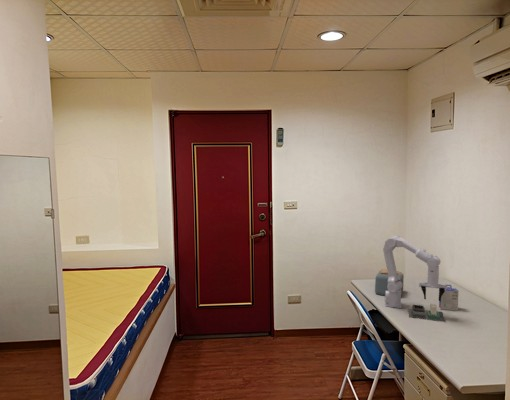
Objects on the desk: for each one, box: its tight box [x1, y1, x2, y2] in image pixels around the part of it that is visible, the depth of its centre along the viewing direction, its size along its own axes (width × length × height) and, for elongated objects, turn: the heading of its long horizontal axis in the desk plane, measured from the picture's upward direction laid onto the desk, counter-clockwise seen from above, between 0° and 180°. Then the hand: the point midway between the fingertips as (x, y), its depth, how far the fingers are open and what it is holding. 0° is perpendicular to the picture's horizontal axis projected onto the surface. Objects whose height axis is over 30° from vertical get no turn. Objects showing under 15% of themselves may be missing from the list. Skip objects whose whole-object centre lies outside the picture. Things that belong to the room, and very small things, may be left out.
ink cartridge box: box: [438, 284, 459, 311], centre depth 220 cm, size 10×6×14 cm, turn 78°
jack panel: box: [407, 304, 446, 323], centre depth 211 cm, size 19×13×4 cm
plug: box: [429, 303, 438, 315], centre depth 209 cm, size 3×4×6 cm
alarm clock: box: [374, 269, 405, 296], centre depth 247 cm, size 16×16×16 cm
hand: (432, 299), depth 210 cm, fingers open, 7 cm apart
